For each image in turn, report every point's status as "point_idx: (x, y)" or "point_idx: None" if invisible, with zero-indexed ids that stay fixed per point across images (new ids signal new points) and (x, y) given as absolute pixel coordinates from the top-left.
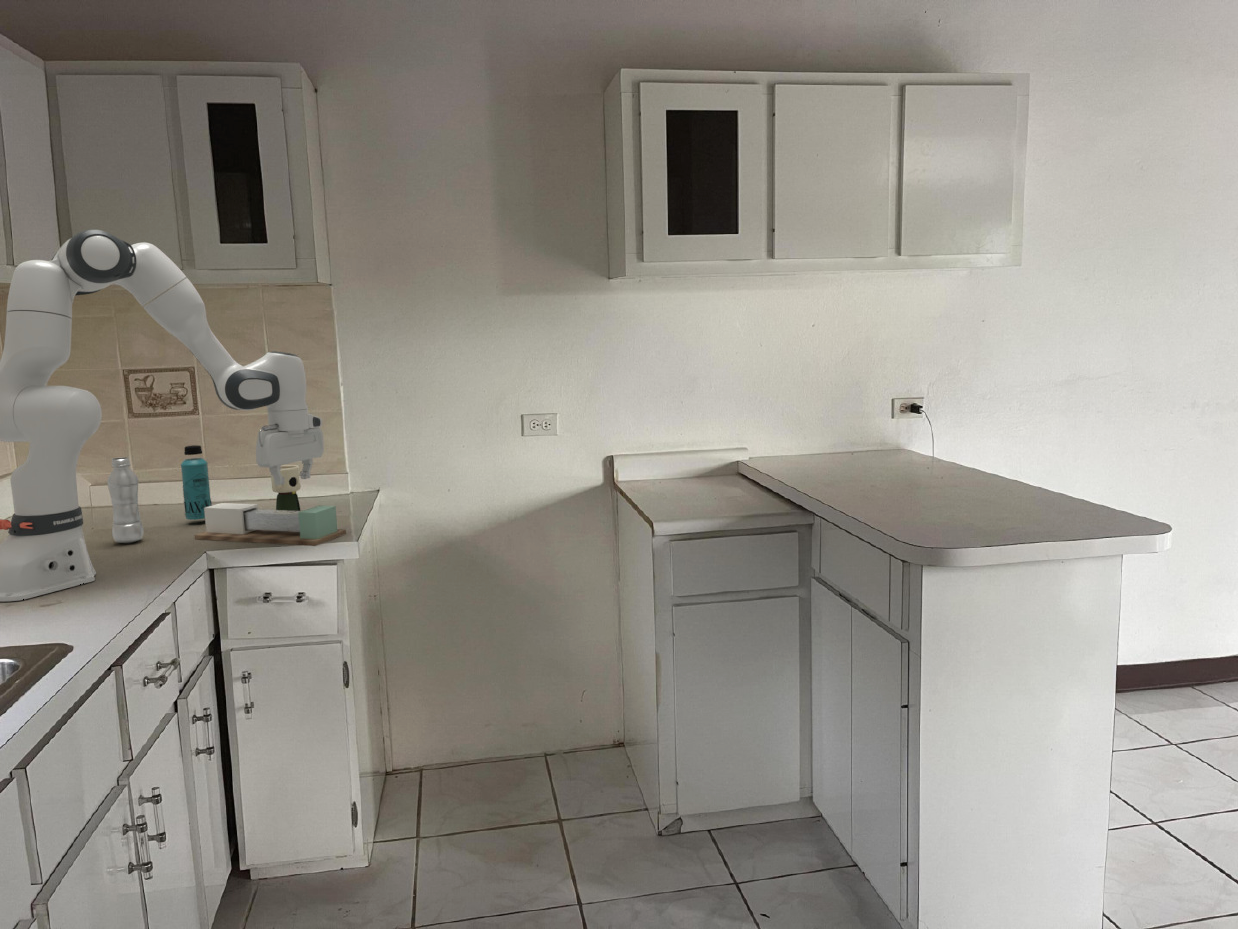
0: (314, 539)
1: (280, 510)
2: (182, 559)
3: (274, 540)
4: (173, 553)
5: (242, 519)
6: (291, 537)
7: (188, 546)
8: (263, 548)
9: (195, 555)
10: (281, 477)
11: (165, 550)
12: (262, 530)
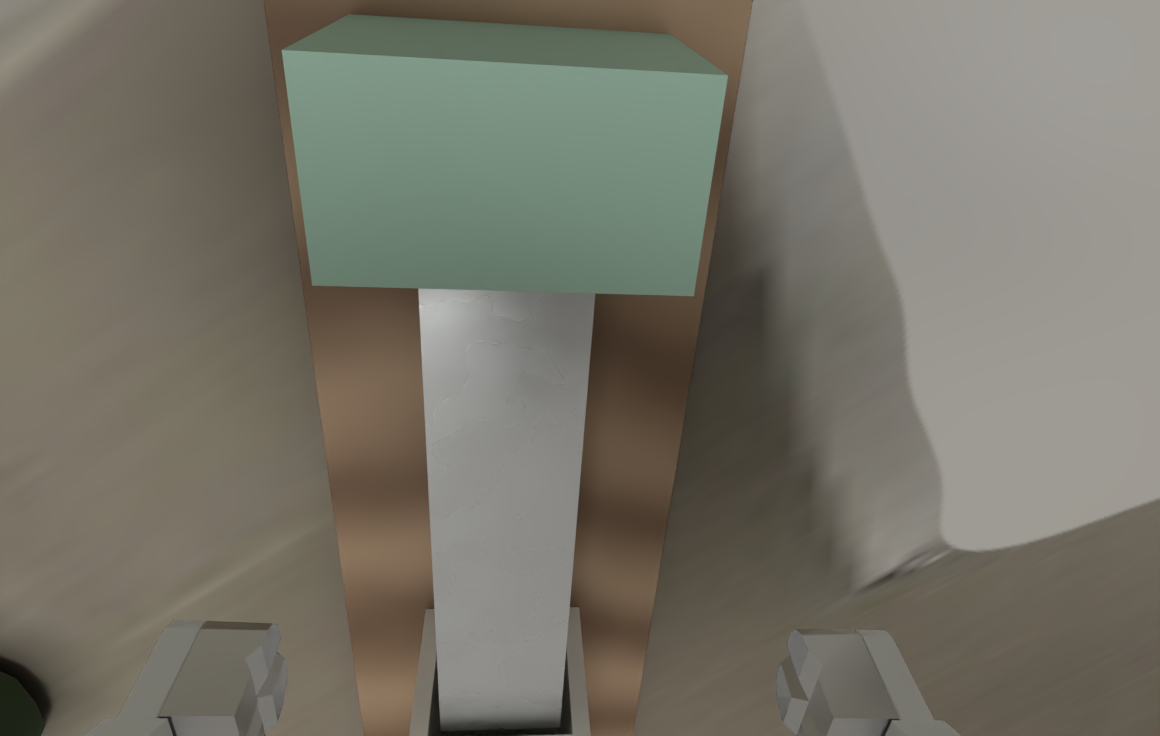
0: None
1: (440, 569)
2: (1029, 582)
3: (689, 368)
4: None
5: (583, 684)
6: None
7: (763, 700)
8: (817, 347)
9: (953, 578)
10: (908, 715)
11: None
12: None
